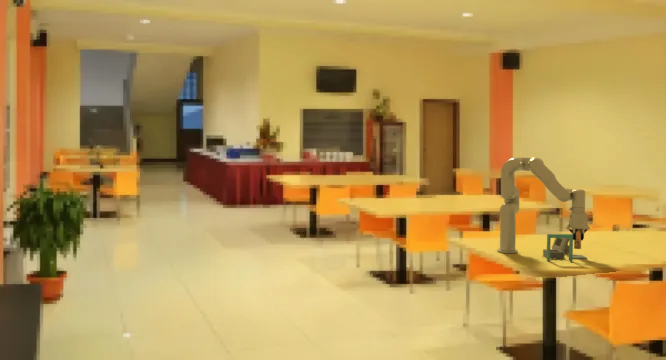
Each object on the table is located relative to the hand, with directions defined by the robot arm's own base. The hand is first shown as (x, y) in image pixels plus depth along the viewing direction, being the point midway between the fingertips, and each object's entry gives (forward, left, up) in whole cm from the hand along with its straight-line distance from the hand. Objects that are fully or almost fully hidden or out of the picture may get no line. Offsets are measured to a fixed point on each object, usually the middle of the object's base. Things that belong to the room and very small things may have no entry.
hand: (577, 239), depth 418 cm
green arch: (+12, -14, -11) cm, 22 cm away
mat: (0, 0, -11) cm, 11 cm away
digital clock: (-20, -5, -11) cm, 23 cm away
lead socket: (0, -14, -11) cm, 18 cm away
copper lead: (0, 0, -5) cm, 5 cm away
